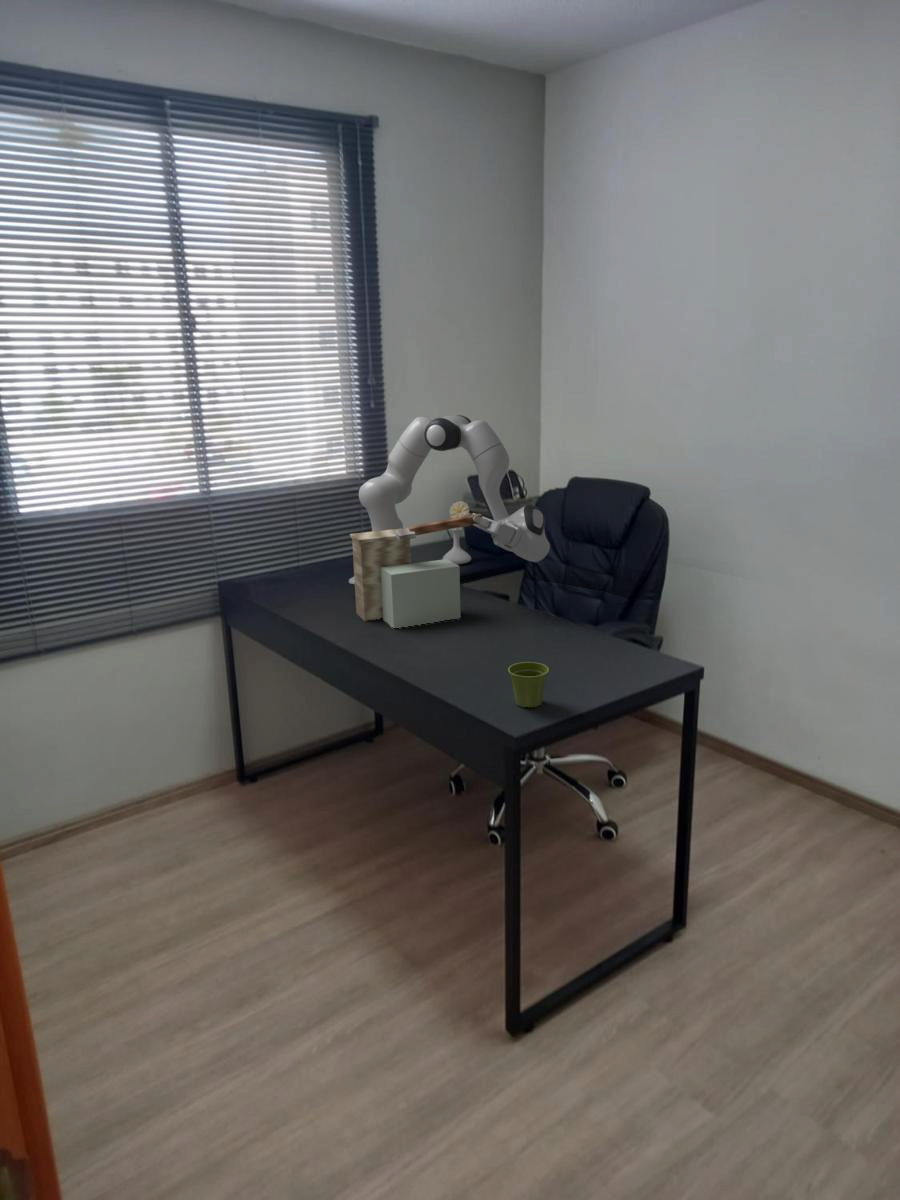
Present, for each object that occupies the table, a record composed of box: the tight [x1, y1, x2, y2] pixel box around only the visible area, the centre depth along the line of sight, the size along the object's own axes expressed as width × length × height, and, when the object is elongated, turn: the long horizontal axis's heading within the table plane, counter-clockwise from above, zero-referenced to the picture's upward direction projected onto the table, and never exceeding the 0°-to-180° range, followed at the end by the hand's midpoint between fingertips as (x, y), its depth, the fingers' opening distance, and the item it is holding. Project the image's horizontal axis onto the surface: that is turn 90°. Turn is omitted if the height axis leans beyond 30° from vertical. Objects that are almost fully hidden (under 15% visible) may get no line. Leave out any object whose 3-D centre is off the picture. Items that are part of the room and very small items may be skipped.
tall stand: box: [349, 529, 412, 622], centre depth 263 cm, size 17×10×26 cm, turn 113°
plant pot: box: [507, 661, 550, 708], centre depth 195 cm, size 9×9×9 cm
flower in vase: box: [441, 500, 472, 565], centre depth 324 cm, size 13×11×25 cm
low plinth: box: [381, 559, 462, 629], centre depth 257 cm, size 22×10×17 cm, turn 113°
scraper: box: [395, 513, 483, 541], centre depth 256 cm, size 27×7×2 cm, turn 105°
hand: (470, 516), depth 257 cm, fingers closed on scraper, 3 cm apart
